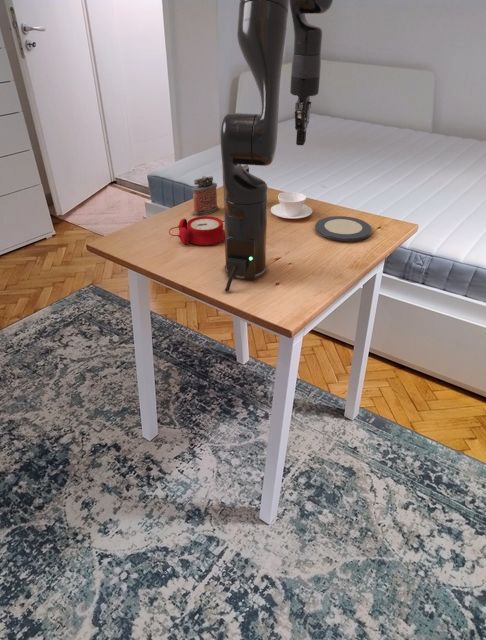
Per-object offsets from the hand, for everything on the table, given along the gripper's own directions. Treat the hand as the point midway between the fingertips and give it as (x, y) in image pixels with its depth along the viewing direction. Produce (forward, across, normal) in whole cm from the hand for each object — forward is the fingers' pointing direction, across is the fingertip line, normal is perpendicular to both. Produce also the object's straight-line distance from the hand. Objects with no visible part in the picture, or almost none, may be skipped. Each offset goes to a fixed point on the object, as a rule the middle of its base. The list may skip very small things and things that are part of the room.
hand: (300, 143), depth 136 cm
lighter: (+17, +14, -24) cm, 33 cm away
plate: (+17, +18, +16) cm, 29 cm away
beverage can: (+17, +6, -16) cm, 25 cm away
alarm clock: (+17, +32, -20) cm, 42 cm away
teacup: (+17, +10, 0) cm, 20 cm away
